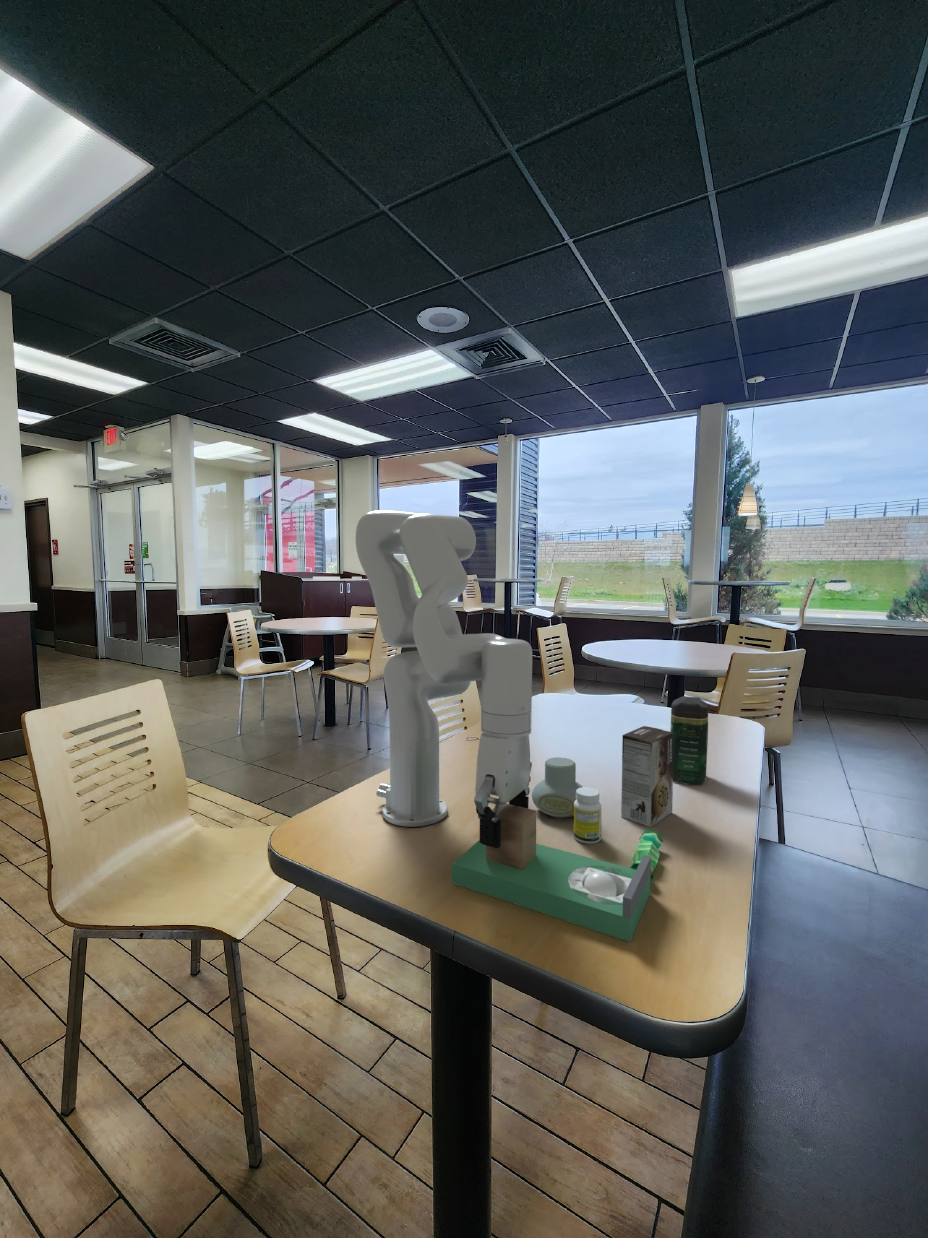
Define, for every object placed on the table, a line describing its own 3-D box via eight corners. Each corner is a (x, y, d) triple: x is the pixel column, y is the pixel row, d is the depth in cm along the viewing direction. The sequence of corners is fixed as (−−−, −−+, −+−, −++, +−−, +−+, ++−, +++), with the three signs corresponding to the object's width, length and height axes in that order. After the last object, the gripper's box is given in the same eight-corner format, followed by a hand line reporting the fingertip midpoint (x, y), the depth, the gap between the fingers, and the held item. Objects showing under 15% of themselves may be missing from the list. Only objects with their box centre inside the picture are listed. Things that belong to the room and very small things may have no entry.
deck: (452, 883, 79) (451, 847, 79) (489, 848, 89) (489, 816, 89) (630, 942, 66) (631, 899, 65) (650, 894, 76) (650, 856, 76)
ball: (617, 910, 70) (588, 915, 72) (625, 893, 74) (597, 899, 76) (602, 877, 71) (574, 883, 73) (611, 862, 75) (584, 869, 77)
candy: (658, 883, 77) (642, 857, 78) (637, 891, 79) (622, 865, 80) (667, 847, 88) (653, 825, 89) (649, 855, 89) (635, 832, 90)
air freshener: (527, 816, 102) (527, 765, 101) (536, 800, 110) (537, 752, 109) (585, 825, 98) (586, 772, 98) (590, 807, 106) (591, 758, 105)
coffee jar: (706, 788, 116) (708, 704, 115) (667, 782, 119) (669, 700, 118) (706, 774, 125) (708, 695, 123) (670, 769, 128) (672, 692, 127)
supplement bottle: (581, 829, 96) (581, 784, 96) (605, 837, 93) (606, 790, 93) (568, 839, 93) (569, 792, 92) (593, 847, 90) (594, 799, 89)
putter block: (486, 859, 80) (486, 814, 80) (500, 845, 84) (501, 802, 84) (522, 870, 77) (522, 823, 76) (536, 855, 81) (536, 810, 81)
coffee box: (642, 803, 108) (643, 725, 107) (673, 813, 103) (675, 731, 102) (619, 817, 101) (620, 734, 100) (651, 828, 97) (653, 741, 96)
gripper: (508, 706, 89) (507, 806, 90) (454, 731, 74) (454, 850, 75) (550, 712, 85) (549, 816, 86) (503, 740, 70) (501, 864, 72)
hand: (505, 831), depth 81 cm, fingers open, 9 cm apart
